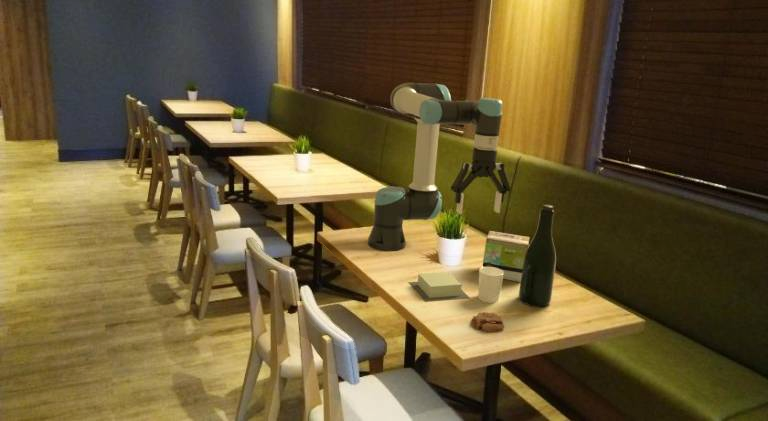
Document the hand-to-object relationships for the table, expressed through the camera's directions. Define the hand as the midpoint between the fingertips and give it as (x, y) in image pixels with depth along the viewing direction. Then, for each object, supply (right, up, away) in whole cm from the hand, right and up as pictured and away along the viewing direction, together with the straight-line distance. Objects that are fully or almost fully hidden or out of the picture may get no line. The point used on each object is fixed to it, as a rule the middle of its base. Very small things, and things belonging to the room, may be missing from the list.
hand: (478, 212), depth 199 cm
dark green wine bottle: (+19, -30, +4) cm, 36 cm away
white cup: (+4, -29, +3) cm, 29 cm away
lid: (-12, -26, +6) cm, 30 cm away
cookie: (0, -34, -16) cm, 38 cm away
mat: (-12, -26, +6) cm, 30 cm away
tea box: (+13, -23, +25) cm, 37 cm away
